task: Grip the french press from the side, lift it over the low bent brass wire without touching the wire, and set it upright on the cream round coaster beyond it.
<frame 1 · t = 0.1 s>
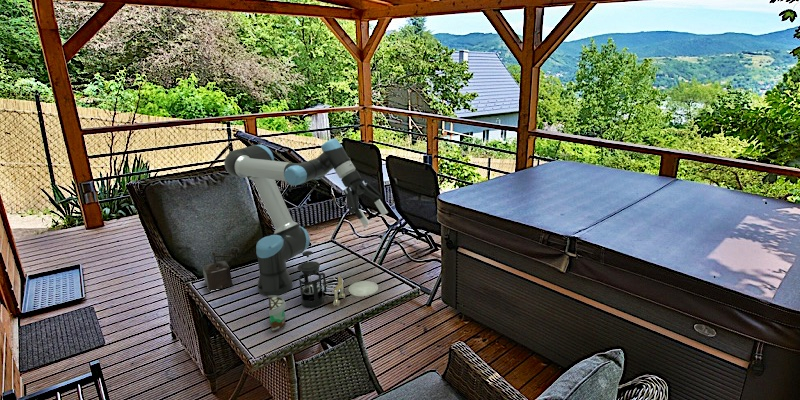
hand: (376, 219, 180), 36 cm above the table, tool tilted 35°, fingers open, 13 cm apart
coaster: (363, 289, 198), on the table
french press: (313, 302, 189), on the table
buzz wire: (339, 297, 192), on the table
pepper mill: (225, 284, 208), on the table
food container: (280, 324, 175), on the table
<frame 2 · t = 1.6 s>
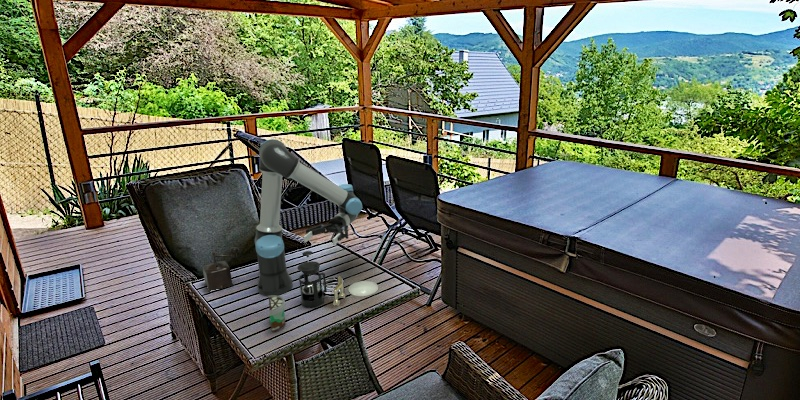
hand: (318, 240, 191), 24 cm above the table, tool horizontal, fingers open, 13 cm apart
nothing on the table moved.
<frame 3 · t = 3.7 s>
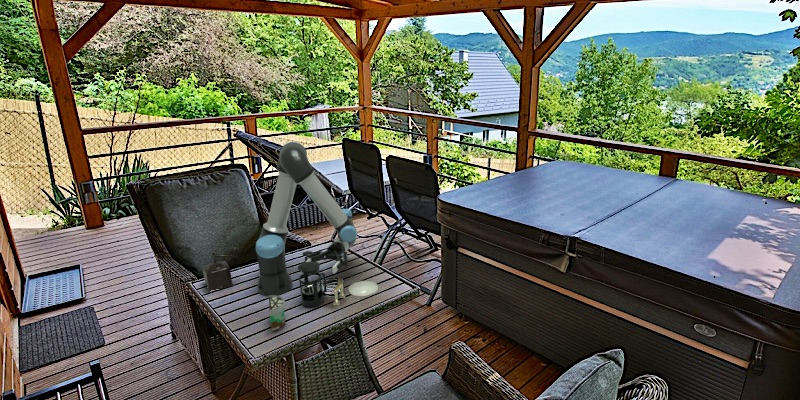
hand: (318, 269, 190), 13 cm above the table, tool horizontal, fingers open, 13 cm apart
nothing on the table moved.
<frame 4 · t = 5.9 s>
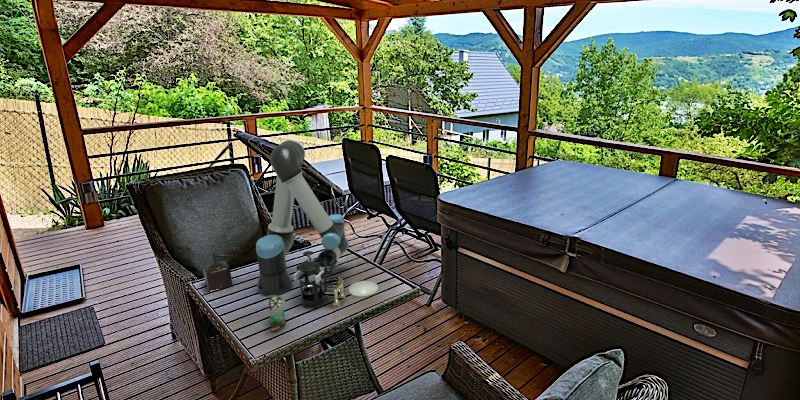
hand: (305, 279, 181), 13 cm above the table, tool horizontal, fingers closed on french press, 9 cm apart
french press: (313, 302, 189), on the table, touching gripper
everything else where it was.
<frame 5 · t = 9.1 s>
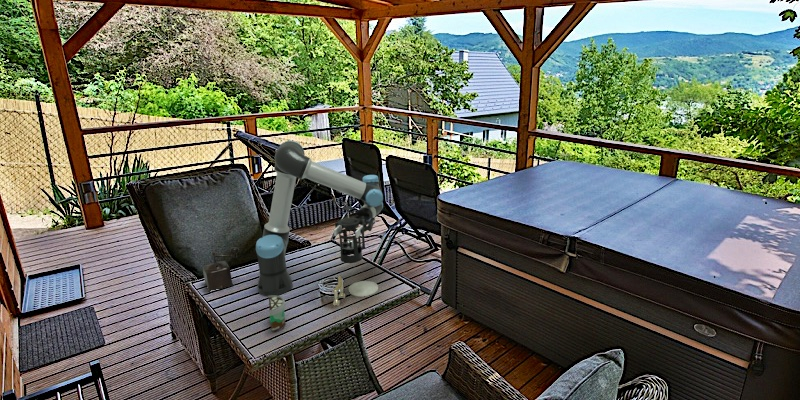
hand: (345, 233, 183), 29 cm above the table, tool horizontal, fingers closed on french press, 9 cm apart
french press: (352, 258, 191), point 16 cm above the table, touching gripper
everything else where it was.
when the fingers open (15 cm above the table, at t = 12.6 s): french press drops 1 cm, resting on coaster.
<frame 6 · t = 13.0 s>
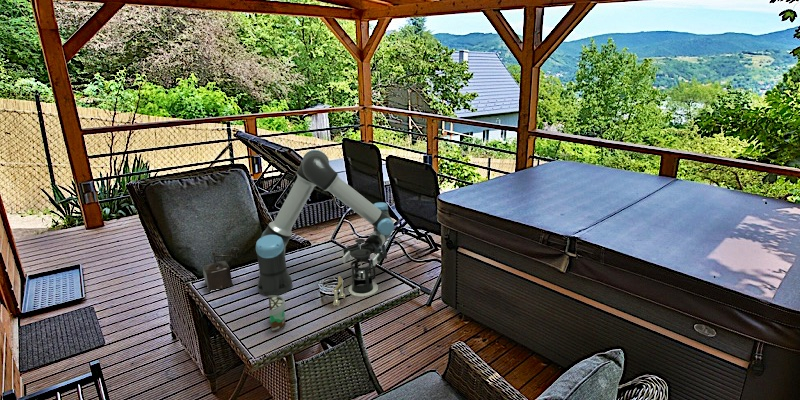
hand: (358, 261, 191), 15 cm above the table, tool horizontal, fingers open, 13 cm apart
french press: (363, 288, 198), resting on coaster
everything else where it was.
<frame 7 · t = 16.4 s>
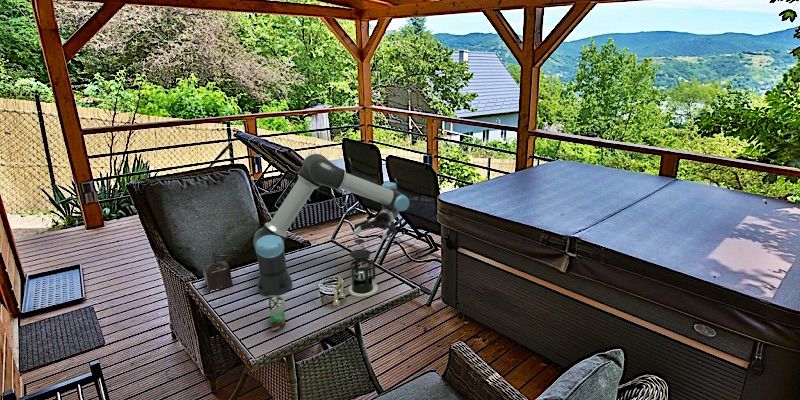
hand: (369, 235, 201), 22 cm above the table, tool horizontal, fingers open, 13 cm apart
nothing on the table moved.
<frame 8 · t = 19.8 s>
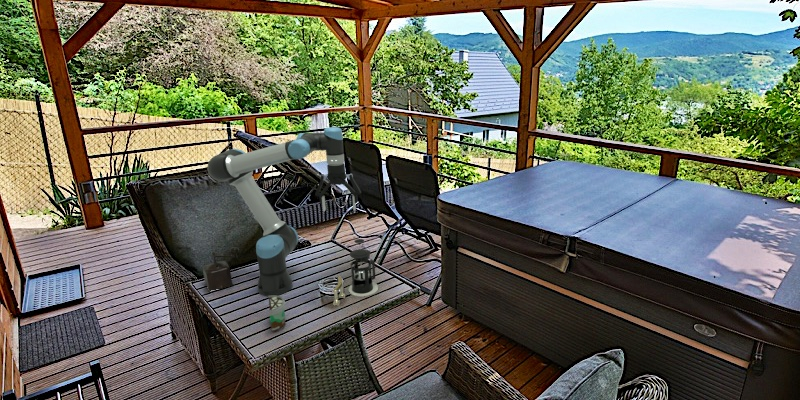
hand: (339, 210, 201), 33 cm above the table, tool pointing down, fingers open, 13 cm apart
nothing on the table moved.
at the end: french press inside the target area on the coaster (0.1 cm from its centre), point 0.4 cm above the coaster's base; french press tilted 0°; french press touching coaster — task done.
